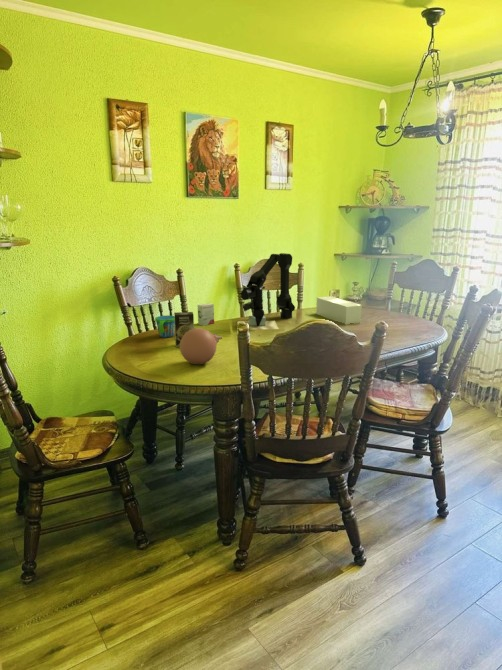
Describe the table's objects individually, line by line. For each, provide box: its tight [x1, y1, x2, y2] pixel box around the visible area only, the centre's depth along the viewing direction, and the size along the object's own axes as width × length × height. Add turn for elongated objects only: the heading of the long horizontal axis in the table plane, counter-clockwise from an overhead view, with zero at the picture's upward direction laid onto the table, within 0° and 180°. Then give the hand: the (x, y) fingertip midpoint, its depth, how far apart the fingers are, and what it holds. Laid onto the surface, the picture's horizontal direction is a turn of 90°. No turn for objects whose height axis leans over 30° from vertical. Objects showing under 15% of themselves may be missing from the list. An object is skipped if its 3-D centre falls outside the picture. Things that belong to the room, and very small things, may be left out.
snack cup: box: [154, 314, 175, 339], centre depth 234 cm, size 16×10×10 cm
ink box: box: [197, 302, 215, 327], centre depth 259 cm, size 9×5×12 cm, turn 129°
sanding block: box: [248, 315, 267, 326], centre depth 251 cm, size 9×6×4 cm, turn 93°
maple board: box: [236, 320, 280, 331], centre depth 251 cm, size 22×20×2 cm
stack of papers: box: [315, 295, 363, 325], centre depth 272 cm, size 32×11×11 cm, turn 24°
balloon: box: [179, 327, 223, 365], centre depth 191 cm, size 15×20×15 cm
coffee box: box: [173, 311, 195, 348], centre depth 216 cm, size 9×6×16 cm
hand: (257, 324), depth 251 cm, fingers closed on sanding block, 5 cm apart
